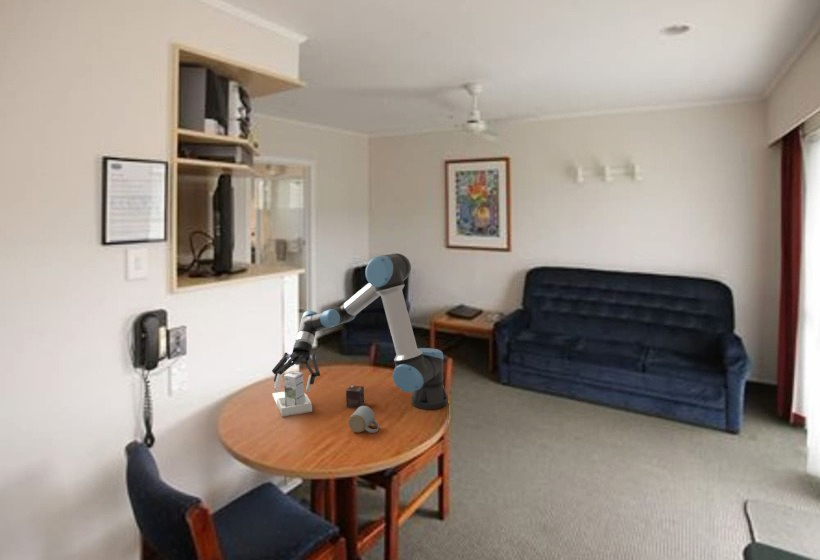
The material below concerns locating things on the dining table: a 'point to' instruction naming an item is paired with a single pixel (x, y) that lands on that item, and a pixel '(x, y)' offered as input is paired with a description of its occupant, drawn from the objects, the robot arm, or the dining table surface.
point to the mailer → (291, 410)
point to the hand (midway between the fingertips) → (291, 390)
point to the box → (355, 396)
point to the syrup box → (294, 389)
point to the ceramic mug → (363, 420)
